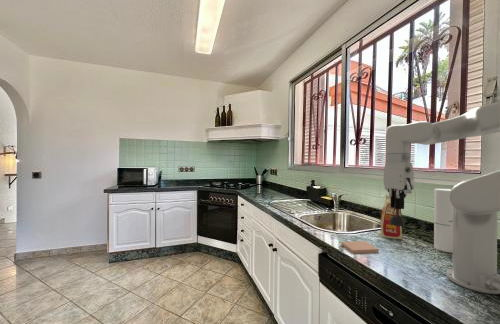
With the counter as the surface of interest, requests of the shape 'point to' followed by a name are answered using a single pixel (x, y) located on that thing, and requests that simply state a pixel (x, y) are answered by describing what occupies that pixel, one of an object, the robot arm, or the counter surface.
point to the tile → (360, 247)
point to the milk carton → (386, 227)
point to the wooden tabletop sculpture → (397, 217)
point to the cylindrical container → (443, 220)
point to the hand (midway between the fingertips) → (397, 207)
